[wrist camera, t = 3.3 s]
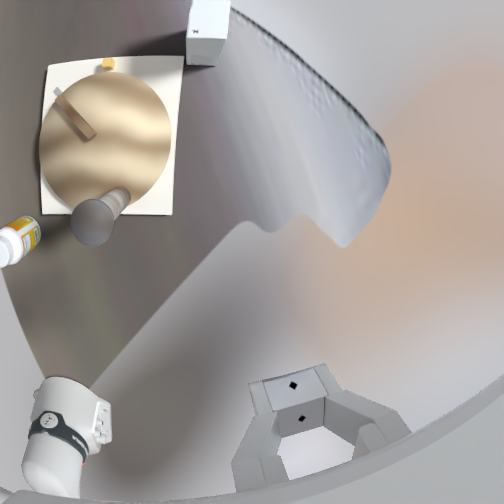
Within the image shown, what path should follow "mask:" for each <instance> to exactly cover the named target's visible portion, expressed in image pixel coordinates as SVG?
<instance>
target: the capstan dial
mask: <svg viewBox="0 0 504 504" xmlns="http://www.w3.org/2000/svg"><path fill="white" fill-rule="evenodd" d="M54 101H55V102H54V103H53V104H52V106H51V108H50V109H49V111H48V113H47V115H46V117H45V119H44V122H43V125H42V128H41V133H40V139H39V158H40V164H41V167H42V171H43V174H44V176H45V178H46V180H47V182H48V184H49V186H50V187H51V188H52V190H53V191H54V192H55V194H56V195H57V196H58V197H60V198H61V199H62V200H63V201H64V202H66V203H67V204H69V205H71V206H72V207H74V208H75V209H74V210H73V212H72V214H71V218H70V226H71V230H72V233H73V234H74V236H75V238H76V239H77V240H78V241H79V242H81V243H82V244H84V245H87V246H98V245H101V244H103V243H104V242H105V241H107V239H108V238H109V237H110V236H111V234H112V232H113V229H114V223H115V221H114V220H115V219H116V218H117V217H118V216H119V215H120V214H121V212H122V211H123V210H124V209H125V208H126V207H127V206H129V205H131V204H133V203H134V202H136V201H137V200H139V199H140V198H141V197H143V196H144V195H145V194H146V193H147V192H148V191H149V190H150V189H151V188H152V187H153V185H154V184H155V183H156V181H157V180H158V179H159V177H160V176H161V174H162V172H163V170H164V168H165V166H166V163H167V161H168V157H169V153H170V148H171V134H172V132H171V124H170V120H169V116H168V113H167V110H166V108H165V106H164V104H163V102H162V101H161V99H160V98H159V96H158V95H157V94H156V93H155V91H154V90H153V89H152V88H151V87H149V86H148V85H147V84H146V83H144V82H143V81H141V80H140V79H138V78H136V77H134V76H131V75H128V74H125V73H119V72H103V73H97V74H93V75H90V76H87V77H85V78H82V79H80V80H79V81H77V82H75V83H74V84H72V85H71V86H69V87H68V88H67V89H66V90H65V91H64V92H63V93H62V94H61V95H58V96H57V98H56V99H55V100H54Z"/></svg>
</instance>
